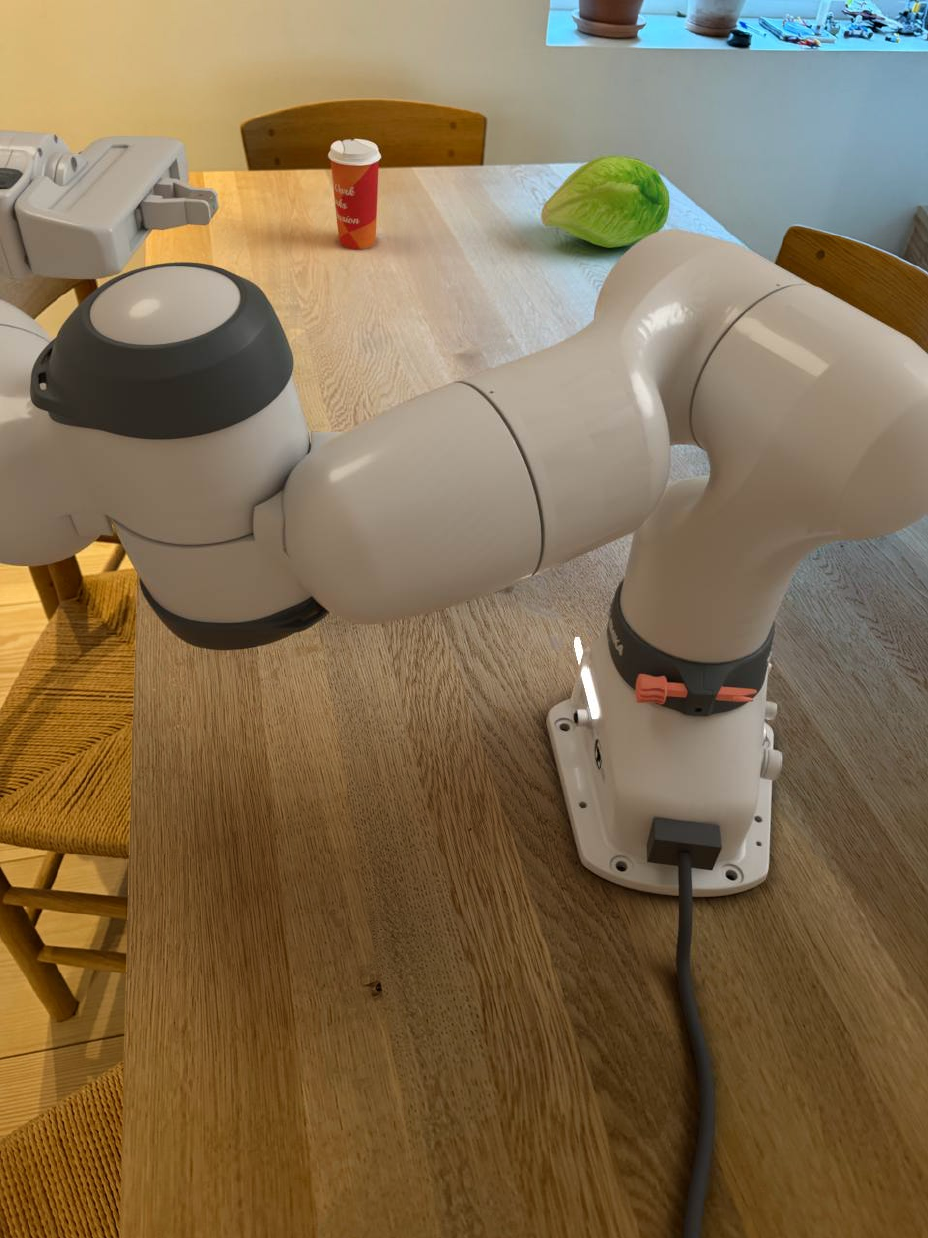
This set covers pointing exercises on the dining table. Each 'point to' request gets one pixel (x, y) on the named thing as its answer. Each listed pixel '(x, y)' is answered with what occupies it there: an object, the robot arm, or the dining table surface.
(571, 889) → the dining table surface
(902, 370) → the robot arm
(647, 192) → the lettuce
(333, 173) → the paper cup
